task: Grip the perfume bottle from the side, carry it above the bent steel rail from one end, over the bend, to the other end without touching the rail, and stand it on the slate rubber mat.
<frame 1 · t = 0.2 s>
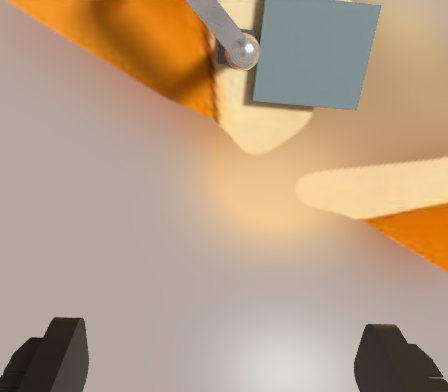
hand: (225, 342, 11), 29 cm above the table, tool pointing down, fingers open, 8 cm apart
slate mat: (311, 54, 35), on the table
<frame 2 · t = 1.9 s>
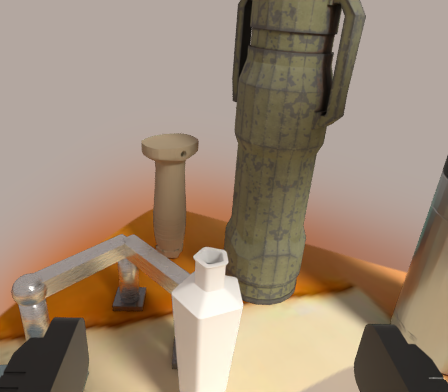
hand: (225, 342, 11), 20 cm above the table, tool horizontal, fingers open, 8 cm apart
bent rail: (130, 300, 41), on the table
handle: (169, 254, 49), on the table
thermos: (259, 281, 45), on the table
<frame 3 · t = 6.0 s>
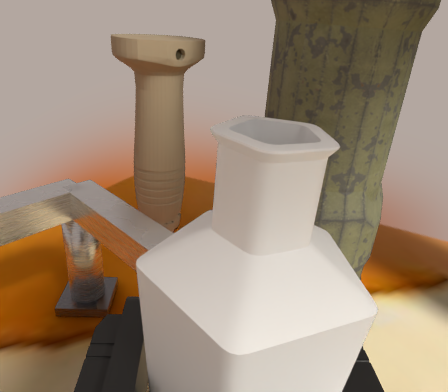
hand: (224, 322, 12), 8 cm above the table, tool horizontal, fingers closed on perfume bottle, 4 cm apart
bent rail: (88, 299, 24), on the table
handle: (159, 230, 32), on the table
thermos: (300, 270, 29), on the table
when the fingers open (10 cm above the table, at t = 14.7 s): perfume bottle drops 1 cm, resting on slate mat.
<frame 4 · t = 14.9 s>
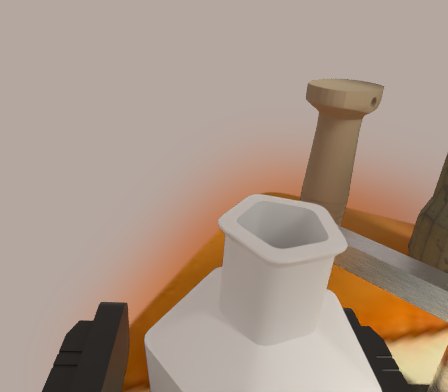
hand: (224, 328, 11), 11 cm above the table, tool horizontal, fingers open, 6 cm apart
bent rail: (297, 321, 27), on the table
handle: (312, 252, 35), on the table
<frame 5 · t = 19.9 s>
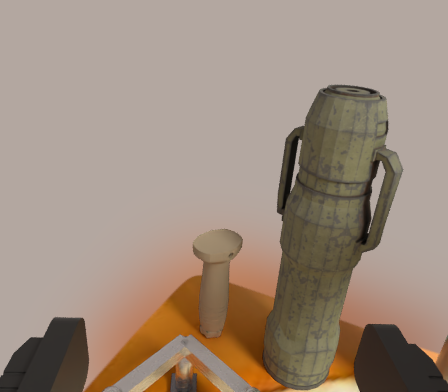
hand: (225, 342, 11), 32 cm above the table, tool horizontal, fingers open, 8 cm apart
bent rail: (183, 387, 45), on the table
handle: (211, 332, 54), on the table
thermos: (295, 362, 50), on the table
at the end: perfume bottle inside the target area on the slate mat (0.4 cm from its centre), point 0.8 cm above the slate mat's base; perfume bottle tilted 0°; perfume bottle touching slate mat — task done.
